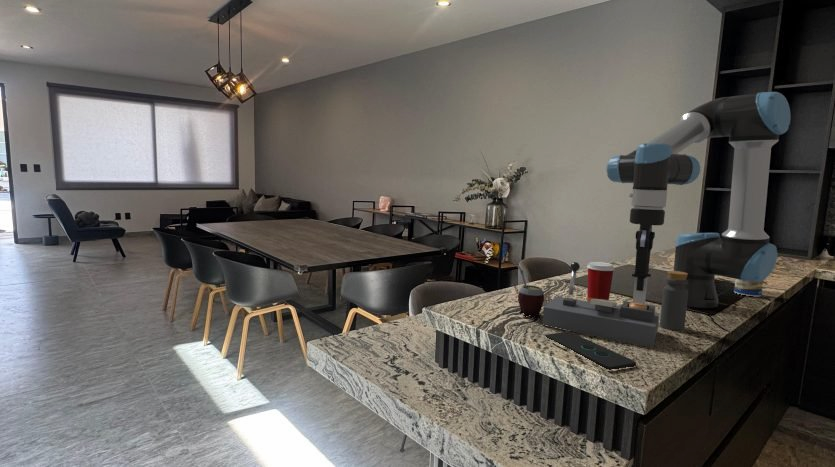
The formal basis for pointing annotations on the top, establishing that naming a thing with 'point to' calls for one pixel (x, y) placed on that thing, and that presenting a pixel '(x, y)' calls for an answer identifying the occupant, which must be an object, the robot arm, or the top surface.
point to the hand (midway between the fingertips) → (638, 302)
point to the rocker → (603, 302)
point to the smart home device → (592, 351)
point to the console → (604, 320)
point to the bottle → (674, 301)
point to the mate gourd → (530, 298)
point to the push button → (638, 306)
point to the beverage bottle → (748, 288)
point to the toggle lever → (573, 276)
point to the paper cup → (599, 280)
